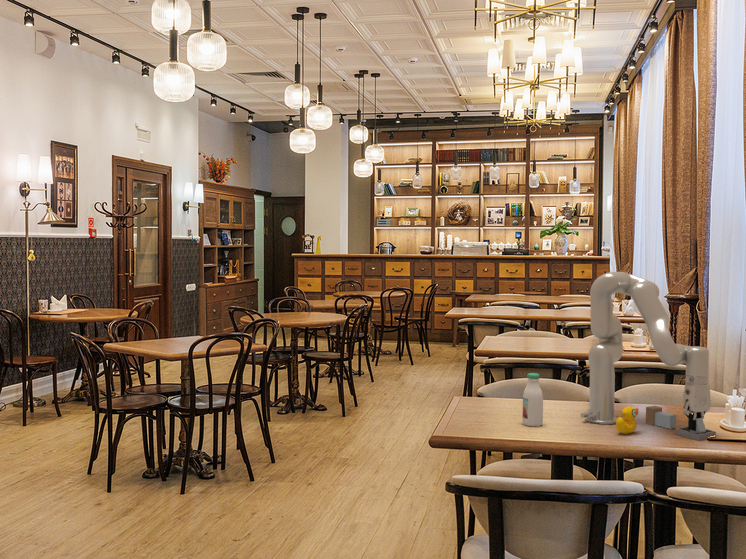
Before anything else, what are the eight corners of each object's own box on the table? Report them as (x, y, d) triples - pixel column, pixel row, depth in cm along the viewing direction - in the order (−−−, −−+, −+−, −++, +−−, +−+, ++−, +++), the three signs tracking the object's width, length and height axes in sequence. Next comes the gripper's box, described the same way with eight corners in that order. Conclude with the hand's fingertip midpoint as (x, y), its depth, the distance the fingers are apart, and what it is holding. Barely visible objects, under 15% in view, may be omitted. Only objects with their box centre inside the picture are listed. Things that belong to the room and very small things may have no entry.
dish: (698, 440, 246) (698, 434, 246) (675, 434, 254) (675, 428, 254) (715, 437, 251) (715, 431, 251) (692, 430, 259) (692, 425, 259)
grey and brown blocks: (668, 429, 261) (668, 412, 261) (645, 423, 270) (646, 407, 270) (677, 427, 263) (677, 411, 263) (654, 421, 273) (654, 405, 272)
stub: (700, 432, 249) (696, 418, 250) (690, 433, 252) (686, 420, 254) (706, 431, 250) (702, 417, 252) (697, 432, 254) (692, 419, 255)
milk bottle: (544, 423, 269) (545, 373, 268) (540, 427, 262) (541, 376, 261) (524, 421, 272) (525, 371, 271) (520, 425, 265) (521, 374, 264)
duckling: (631, 429, 261) (631, 403, 260) (643, 432, 256) (643, 406, 256) (611, 433, 255) (612, 407, 254) (623, 437, 250) (624, 410, 250)
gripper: (691, 383, 244) (690, 434, 245) (720, 380, 252) (718, 429, 253) (673, 380, 251) (672, 429, 252) (701, 376, 259) (700, 424, 260)
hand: (695, 429), depth 252 cm, fingers closed on stub, 2 cm apart
